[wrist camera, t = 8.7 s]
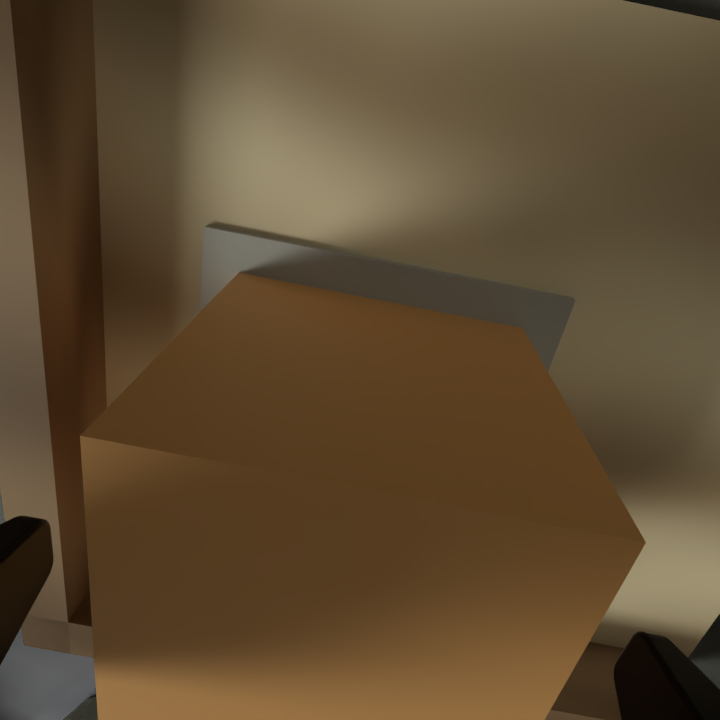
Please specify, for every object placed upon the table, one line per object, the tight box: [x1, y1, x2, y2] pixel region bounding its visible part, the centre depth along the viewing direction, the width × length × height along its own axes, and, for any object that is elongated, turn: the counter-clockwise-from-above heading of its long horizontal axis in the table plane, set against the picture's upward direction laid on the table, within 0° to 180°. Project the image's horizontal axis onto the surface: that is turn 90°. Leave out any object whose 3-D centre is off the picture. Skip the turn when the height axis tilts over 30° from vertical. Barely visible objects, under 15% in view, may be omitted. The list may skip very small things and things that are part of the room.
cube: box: [80, 272, 646, 720], centre depth 9 cm, size 6×6×6 cm
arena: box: [0, 0, 720, 720], centre depth 11 cm, size 16×18×3 cm
